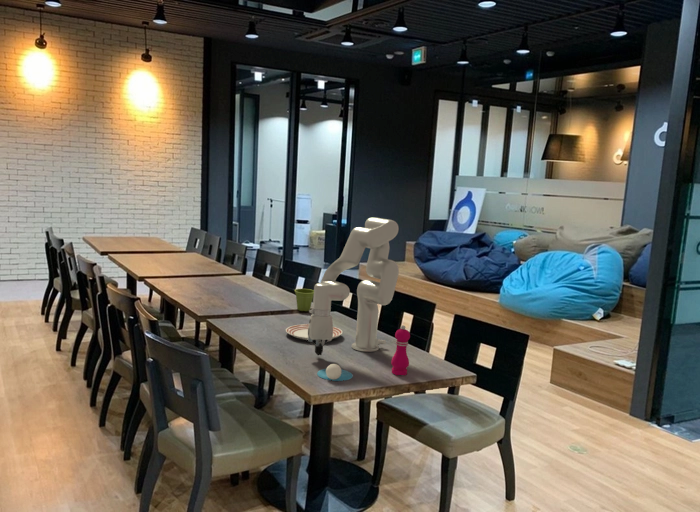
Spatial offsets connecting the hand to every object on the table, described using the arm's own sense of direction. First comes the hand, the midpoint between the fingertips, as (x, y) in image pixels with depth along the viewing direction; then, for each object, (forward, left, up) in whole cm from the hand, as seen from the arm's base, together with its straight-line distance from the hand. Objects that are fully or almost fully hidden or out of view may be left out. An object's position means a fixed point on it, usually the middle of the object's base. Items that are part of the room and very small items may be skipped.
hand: (318, 354), depth 258 cm
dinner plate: (-8, -33, -2) cm, 34 cm away
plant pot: (-18, -86, -2) cm, 88 cm away
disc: (0, +22, -2) cm, 22 cm away
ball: (+2, +27, +2) cm, 27 cm away
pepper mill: (-27, +24, -2) cm, 36 cm away
